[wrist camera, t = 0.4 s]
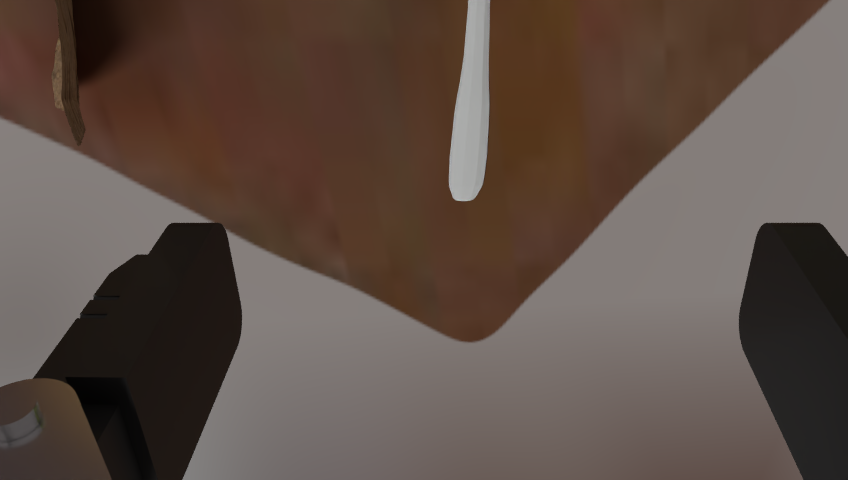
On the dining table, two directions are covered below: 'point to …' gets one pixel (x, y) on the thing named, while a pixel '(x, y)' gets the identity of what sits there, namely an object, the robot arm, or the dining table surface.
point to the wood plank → (67, 70)
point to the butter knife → (472, 107)
